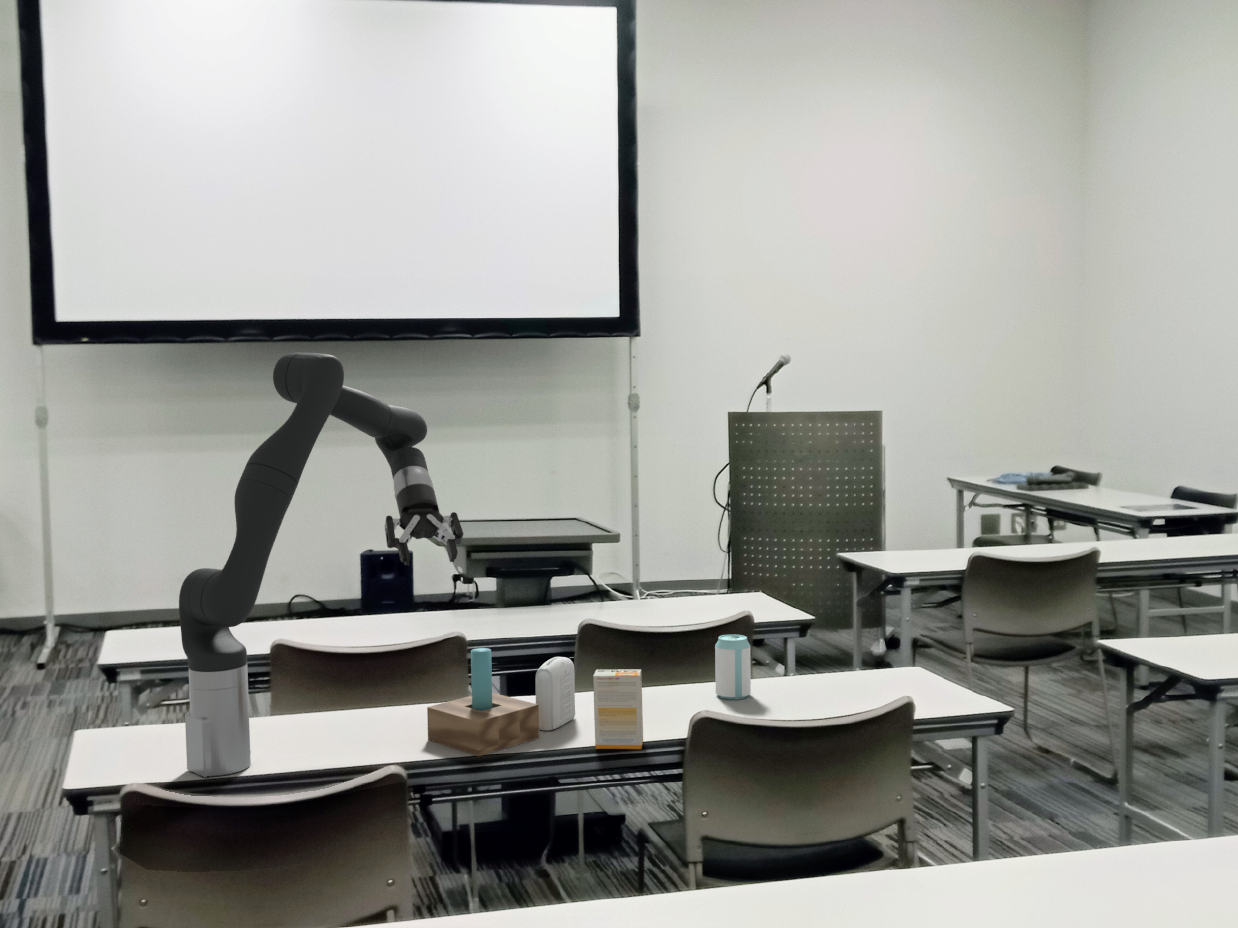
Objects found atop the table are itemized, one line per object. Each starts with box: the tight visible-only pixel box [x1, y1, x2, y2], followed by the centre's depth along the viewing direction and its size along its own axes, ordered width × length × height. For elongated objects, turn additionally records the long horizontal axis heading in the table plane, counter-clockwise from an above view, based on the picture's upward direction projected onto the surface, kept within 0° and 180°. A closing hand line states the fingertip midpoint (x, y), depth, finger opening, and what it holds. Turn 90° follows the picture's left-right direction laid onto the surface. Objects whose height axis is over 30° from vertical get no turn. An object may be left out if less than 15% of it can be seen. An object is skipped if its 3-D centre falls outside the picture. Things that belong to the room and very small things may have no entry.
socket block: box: [426, 692, 540, 757], centre depth 206 cm, size 14×14×6 cm
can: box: [714, 634, 752, 700], centre depth 233 cm, size 7×7×12 cm
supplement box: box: [592, 668, 644, 750], centre depth 201 cm, size 8×5×13 cm, turn 84°
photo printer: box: [535, 656, 576, 732], centre depth 215 cm, size 10×4×12 cm, turn 157°
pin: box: [470, 647, 493, 711], centre depth 206 cm, size 4×4×15 cm
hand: (430, 560), depth 215 cm, fingers open, 8 cm apart
